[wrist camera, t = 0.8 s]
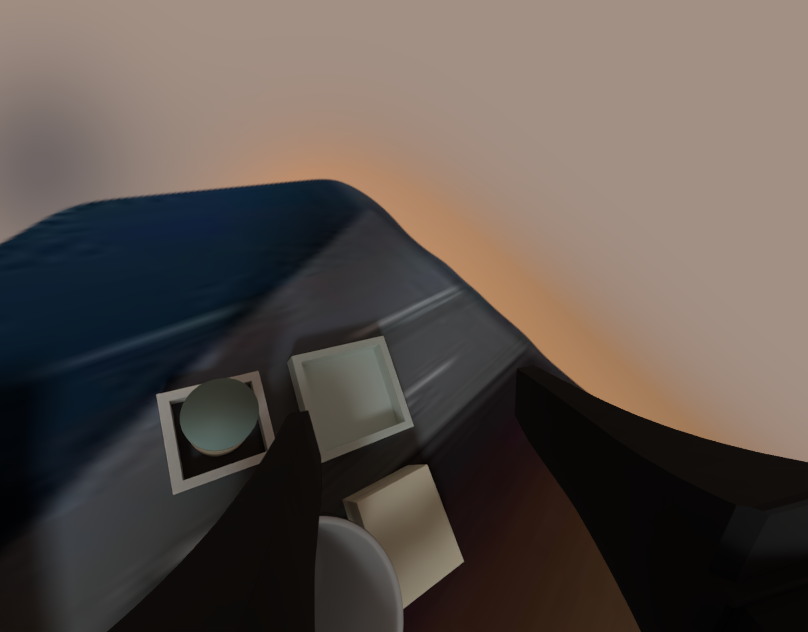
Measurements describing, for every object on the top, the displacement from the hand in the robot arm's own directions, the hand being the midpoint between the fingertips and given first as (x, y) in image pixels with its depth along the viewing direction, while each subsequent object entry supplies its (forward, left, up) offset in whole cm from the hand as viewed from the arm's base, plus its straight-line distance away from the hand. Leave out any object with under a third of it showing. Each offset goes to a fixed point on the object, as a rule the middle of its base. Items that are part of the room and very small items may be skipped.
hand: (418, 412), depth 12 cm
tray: (+3, -4, -18) cm, 19 cm away
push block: (-8, -5, -18) cm, 20 cm away
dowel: (+3, +5, -18) cm, 19 cm away
